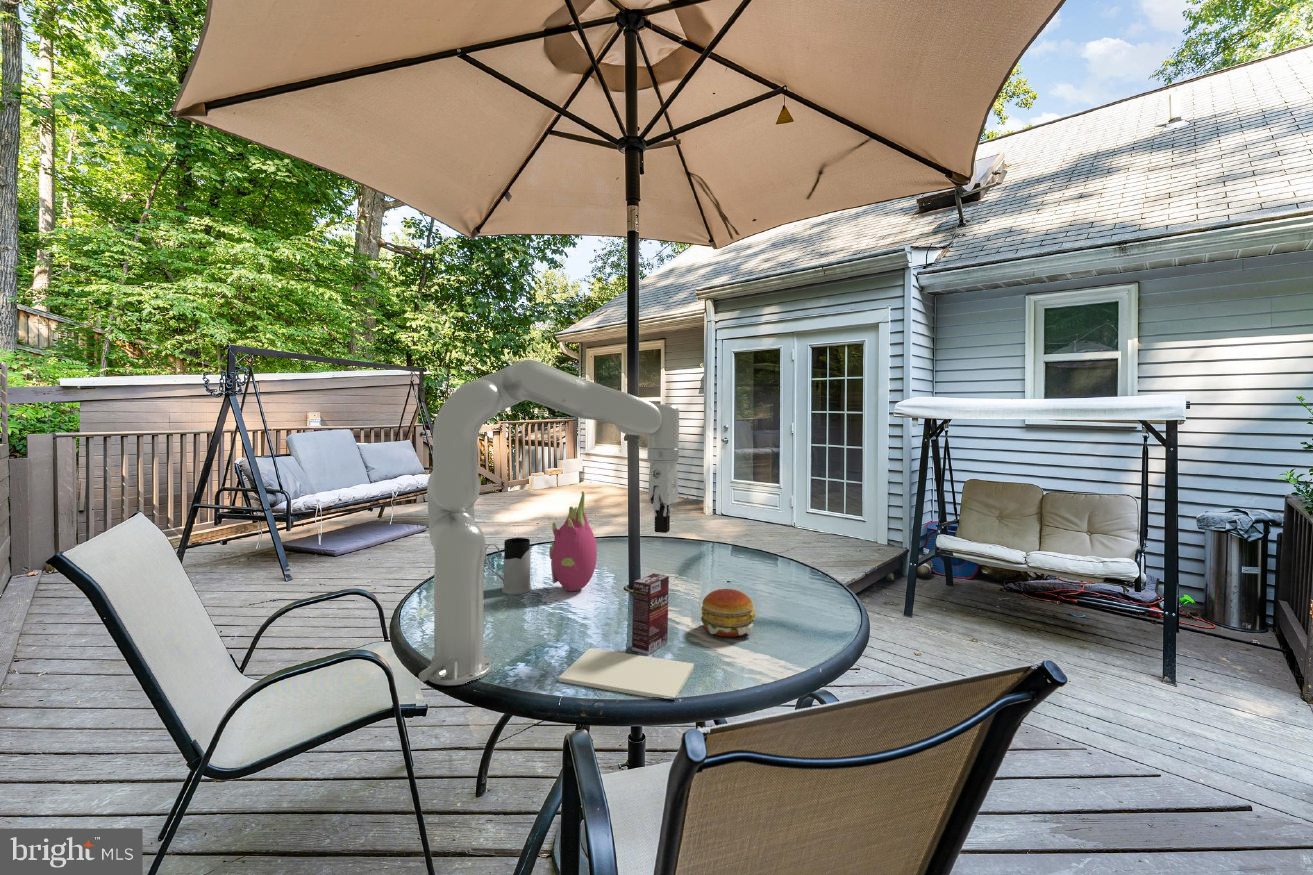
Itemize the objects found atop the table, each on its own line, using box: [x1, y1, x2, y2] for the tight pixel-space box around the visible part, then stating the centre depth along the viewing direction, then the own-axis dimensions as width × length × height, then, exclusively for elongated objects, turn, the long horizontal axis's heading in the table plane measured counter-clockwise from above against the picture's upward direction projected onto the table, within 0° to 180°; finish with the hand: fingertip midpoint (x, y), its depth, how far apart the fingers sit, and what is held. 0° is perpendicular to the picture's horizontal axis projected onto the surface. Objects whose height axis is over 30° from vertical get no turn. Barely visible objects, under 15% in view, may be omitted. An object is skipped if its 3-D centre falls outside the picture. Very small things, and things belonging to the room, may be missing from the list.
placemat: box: [557, 647, 695, 698], centre depth 115 cm, size 15×24×1 cm, turn 72°
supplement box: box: [631, 572, 670, 656], centre depth 129 cm, size 9×5×16 cm, turn 148°
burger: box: [700, 588, 756, 638], centre depth 139 cm, size 14×14×10 cm
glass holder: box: [485, 537, 533, 595], centre depth 170 cm, size 9×14×15 cm, turn 89°
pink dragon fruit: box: [549, 490, 598, 592], centre depth 170 cm, size 18×14×30 cm
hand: (662, 531), depth 136 cm, fingers closed
